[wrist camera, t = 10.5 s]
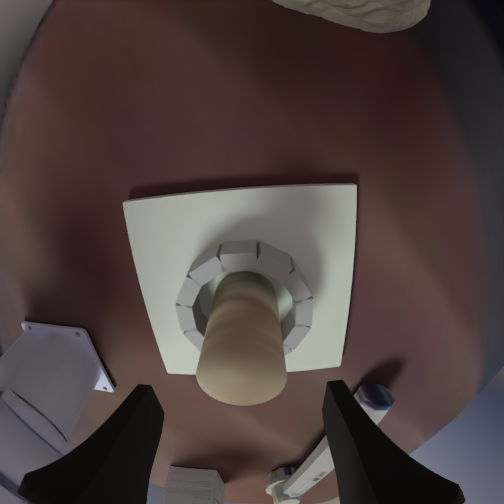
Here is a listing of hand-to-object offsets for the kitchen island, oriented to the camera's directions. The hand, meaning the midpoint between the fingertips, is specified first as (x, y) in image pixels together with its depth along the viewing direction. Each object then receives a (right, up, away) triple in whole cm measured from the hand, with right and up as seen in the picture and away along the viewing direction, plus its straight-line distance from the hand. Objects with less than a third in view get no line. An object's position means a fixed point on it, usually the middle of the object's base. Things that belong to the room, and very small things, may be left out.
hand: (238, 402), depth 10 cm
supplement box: (-8, -28, +21) cm, 36 cm away
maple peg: (0, +3, +8) cm, 8 cm away
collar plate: (0, +3, +9) cm, 9 cm away
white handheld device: (+8, -17, +17) cm, 25 cm away
